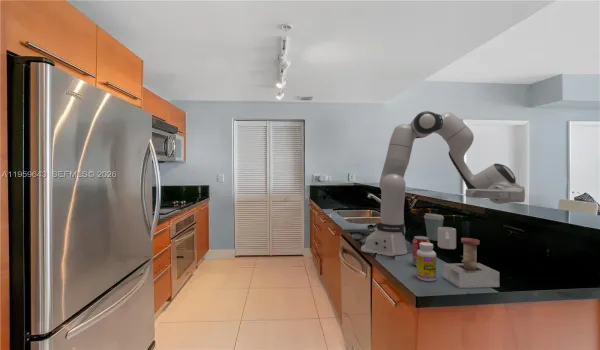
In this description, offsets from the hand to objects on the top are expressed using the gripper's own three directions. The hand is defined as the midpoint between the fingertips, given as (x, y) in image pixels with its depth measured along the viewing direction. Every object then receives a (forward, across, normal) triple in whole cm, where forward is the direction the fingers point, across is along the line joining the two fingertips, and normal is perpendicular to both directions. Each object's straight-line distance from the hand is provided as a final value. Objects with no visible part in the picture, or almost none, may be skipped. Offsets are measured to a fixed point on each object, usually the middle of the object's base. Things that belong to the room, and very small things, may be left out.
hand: (485, 194), depth 111 cm
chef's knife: (-3, -9, +31) cm, 32 cm away
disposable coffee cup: (-33, -40, +30) cm, 60 cm away
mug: (-20, -26, +30) cm, 45 cm away
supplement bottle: (+28, -9, +30) cm, 42 cm away
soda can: (+16, -18, +30) cm, 39 cm away
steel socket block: (+19, +2, +30) cm, 35 cm away
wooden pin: (+19, +2, +29) cm, 34 cm away
